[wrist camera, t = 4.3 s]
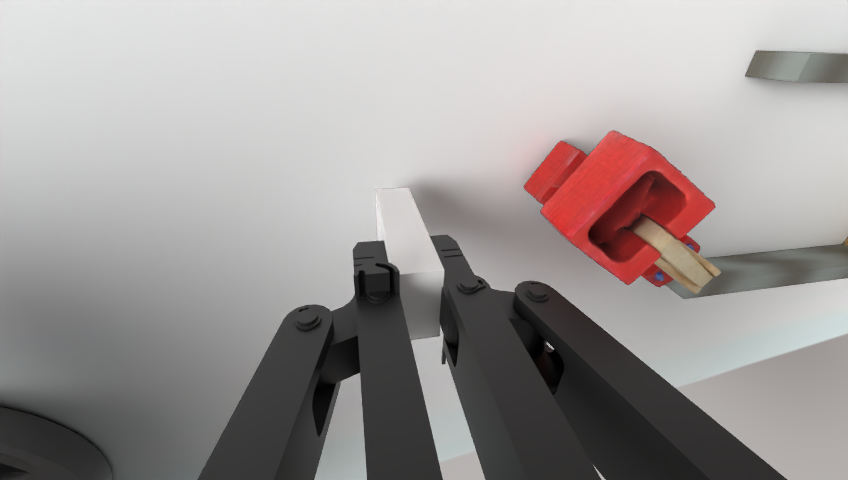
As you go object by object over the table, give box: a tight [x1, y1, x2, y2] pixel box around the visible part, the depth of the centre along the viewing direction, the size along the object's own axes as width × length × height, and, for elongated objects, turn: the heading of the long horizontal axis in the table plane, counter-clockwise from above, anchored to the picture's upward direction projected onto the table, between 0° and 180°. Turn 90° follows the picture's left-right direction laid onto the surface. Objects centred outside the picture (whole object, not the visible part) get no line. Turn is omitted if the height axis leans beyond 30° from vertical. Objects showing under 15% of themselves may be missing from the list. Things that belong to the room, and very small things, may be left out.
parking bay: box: [665, 51, 848, 299], centre depth 22 cm, size 18×14×3 cm
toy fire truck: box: [524, 130, 721, 294], centre depth 16 cm, size 3×14×10 cm, turn 54°
